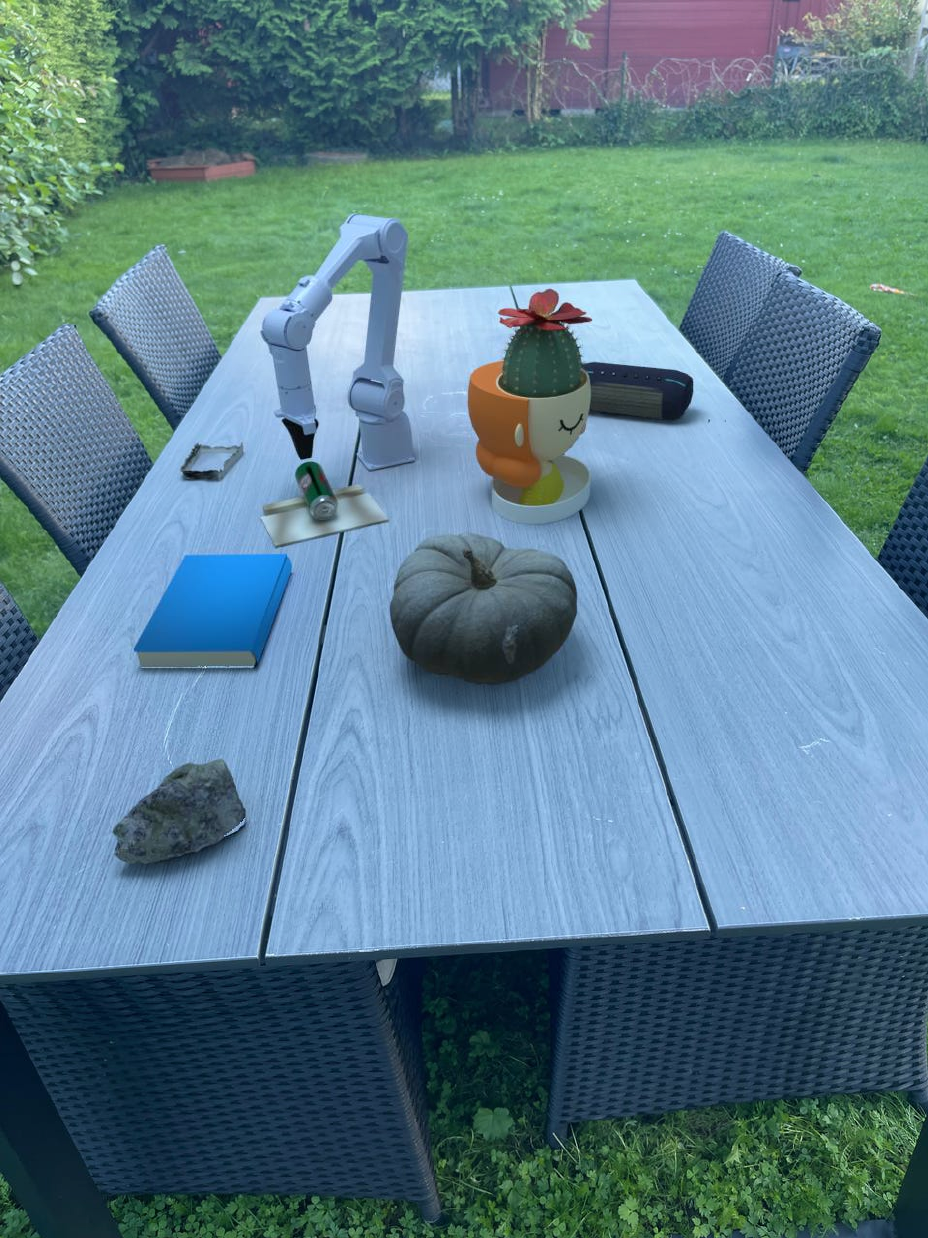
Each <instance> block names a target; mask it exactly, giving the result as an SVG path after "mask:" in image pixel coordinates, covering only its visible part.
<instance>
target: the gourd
mask: <svg viewBox="0 0 928 1238" xmlns="http://www.w3.org/2000/svg"><path fill="white" fill-rule="evenodd" d="M577 603H578V591H577V585H576V583H575V580H574V576H573V574H572V572H571V571H570V570H569V568H568V566H567V564H566V563H565V562H564V560H563V559H562V558H561V557H559V556H557V555H555V554H553V553H549V552H548V551H547V552H546V551H543V550H539V549H537V548H536V549H535V548H530V547H529V548H516V549H514V548H511V547H505V545H504V544H503V543H502V542H500V541H499V540H497V539H495V538H492V537H489V536H484V535H482V534H479V533H472V532H462V533H459V534H451V533H448V534H447V533H446V534H442V535H434V534H433V535H430V536H427V537H426V538H425V539H423V540H422V541H421V542H420V543H419V544H418V545H417V547H416V548H415V549H414V550H413V551H412V552H411V553H409V554H408V556H406V557H405V559H404V560H403V561H402V563H401V564H400V566H399V569H398V572H397V576H396V578H395V580H394V584H393V594H392V598H391V601H390V604H389V615H390V616H389V617H390V622H391V628H392V630H393V633H394V636H395V638H396V641H397V643H398V646H399V648H400V650H401V651H402V653H403V654H404V656H406V658H407V659H408V660H410V662H411V661H412V662H413V663H414V664H416V665H418V666H419V668H420V669H422V670H424V671H426V672H428V673H430V674H433V675H435V676H440V677H449V676H450V677H453V678H456V679H460V680H463V681H464V682H466V683H468V684H472V685H477V686H478V685H480V686H481V685H482V686H483V685H486V686H487V685H490V686H495V685H501V684H506V683H512V682H514V681H517V680H520V679H522V678H524V677H526V676H529V675H531V674H534V673H535V672H536V671H538V670H540V668H542V667H543V666H544V665H546V663H547V662H549V660H551V659H552V657H553V656H554V655H555V654H556V653H558V652H559V650H560V649H561V648H562V647H563V645H564V643H565V642H566V641H567V639H568V638H569V635H570V633H571V632H572V631H571V630H572V628H573V626H574V623H575V620H576V618H577V615H578V604H577Z"/></svg>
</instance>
